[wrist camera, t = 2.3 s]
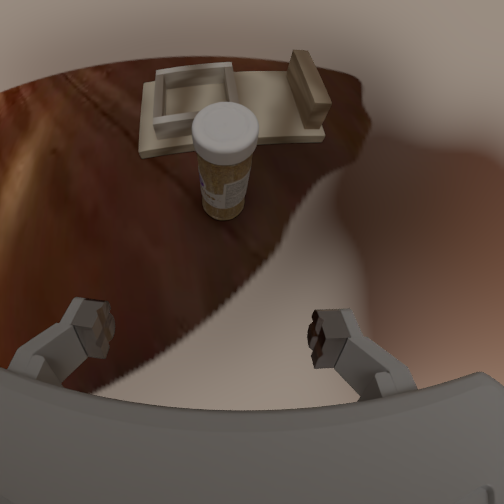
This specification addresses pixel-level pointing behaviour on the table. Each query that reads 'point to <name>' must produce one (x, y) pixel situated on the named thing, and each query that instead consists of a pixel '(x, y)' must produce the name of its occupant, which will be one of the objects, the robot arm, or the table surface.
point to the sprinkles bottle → (224, 156)
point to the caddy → (238, 91)
